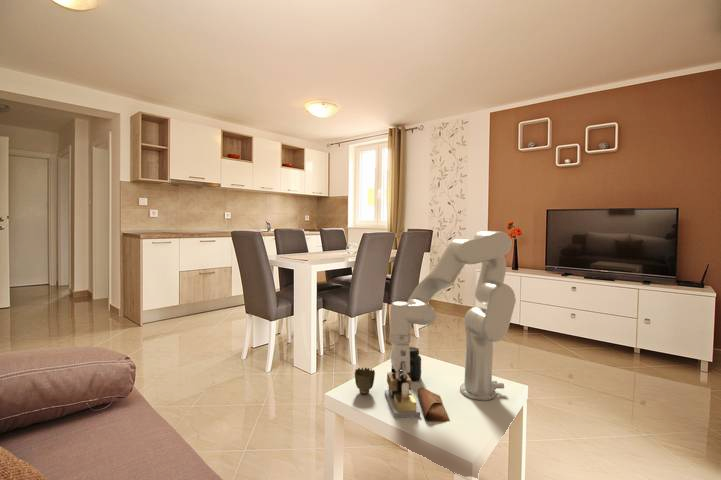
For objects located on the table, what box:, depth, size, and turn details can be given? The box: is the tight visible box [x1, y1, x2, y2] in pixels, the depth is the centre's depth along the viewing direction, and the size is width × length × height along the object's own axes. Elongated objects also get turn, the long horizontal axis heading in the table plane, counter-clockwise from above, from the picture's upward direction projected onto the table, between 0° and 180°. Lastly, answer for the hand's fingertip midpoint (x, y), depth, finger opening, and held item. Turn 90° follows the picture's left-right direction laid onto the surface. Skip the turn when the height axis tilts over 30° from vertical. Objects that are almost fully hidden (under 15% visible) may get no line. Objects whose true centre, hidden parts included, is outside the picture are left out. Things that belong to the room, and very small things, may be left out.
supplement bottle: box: [407, 346, 422, 383], centre depth 143 cm, size 7×7×12 cm
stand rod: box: [387, 372, 402, 399], centre depth 126 cm, size 6×6×8 cm
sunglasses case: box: [416, 386, 451, 423], centre depth 121 cm, size 18×7×7 cm, turn 0°
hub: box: [394, 382, 417, 412], centre depth 117 cm, size 6×6×8 cm
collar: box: [386, 372, 412, 391], centre depth 126 cm, size 7×7×4 cm
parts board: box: [384, 389, 421, 419], centre depth 122 cm, size 8×16×2 cm, turn 7°
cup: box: [354, 367, 376, 395], centre depth 130 cm, size 8×7×8 cm
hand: (398, 385), depth 126 cm, fingers open, 9 cm apart
